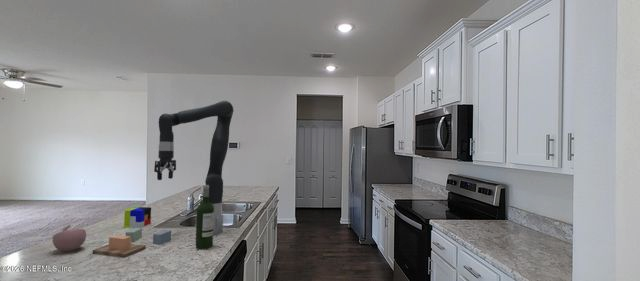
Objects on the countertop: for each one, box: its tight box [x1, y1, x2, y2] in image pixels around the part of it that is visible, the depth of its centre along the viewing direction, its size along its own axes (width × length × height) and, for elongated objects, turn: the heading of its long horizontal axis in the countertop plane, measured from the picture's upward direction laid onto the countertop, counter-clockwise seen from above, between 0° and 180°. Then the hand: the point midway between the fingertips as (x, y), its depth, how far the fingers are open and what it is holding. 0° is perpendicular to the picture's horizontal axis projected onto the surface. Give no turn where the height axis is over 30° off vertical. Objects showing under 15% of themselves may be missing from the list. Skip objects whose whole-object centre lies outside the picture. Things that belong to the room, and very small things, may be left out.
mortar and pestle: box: [52, 224, 87, 252], centre depth 143 cm, size 12×12×12 cm
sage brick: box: [125, 227, 143, 243], centre depth 161 cm, size 8×4×5 cm, turn 3°
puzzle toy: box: [123, 206, 152, 229], centre depth 188 cm, size 10×10×10 cm
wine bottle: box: [195, 184, 214, 250], centre depth 154 cm, size 8×8×30 cm
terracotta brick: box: [108, 234, 132, 250], centre depth 144 cm, size 8×4×5 cm, turn 77°
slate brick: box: [152, 229, 172, 245], centre depth 159 cm, size 8×4×5 cm, turn 167°
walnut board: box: [92, 243, 147, 259], centre depth 144 cm, size 17×12×2 cm
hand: (165, 179), depth 173 cm, fingers open, 8 cm apart
